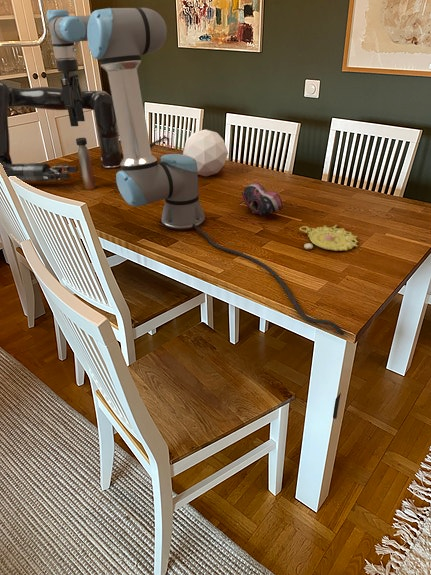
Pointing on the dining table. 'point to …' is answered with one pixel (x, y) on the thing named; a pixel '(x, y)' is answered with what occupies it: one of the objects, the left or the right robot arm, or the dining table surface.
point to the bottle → (86, 167)
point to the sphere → (206, 151)
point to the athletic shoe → (261, 200)
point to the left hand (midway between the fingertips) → (73, 172)
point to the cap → (81, 141)
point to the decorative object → (330, 238)
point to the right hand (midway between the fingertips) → (78, 123)
